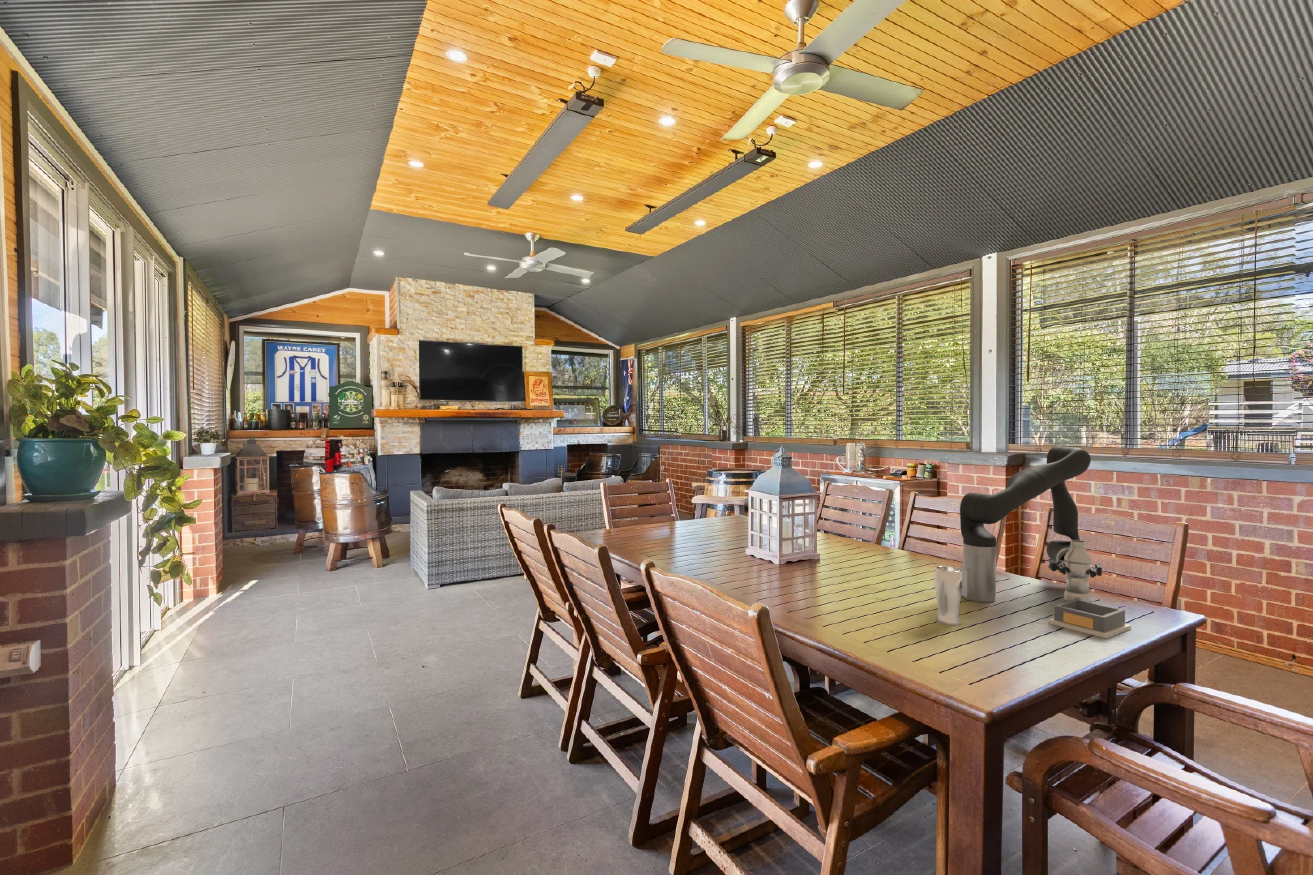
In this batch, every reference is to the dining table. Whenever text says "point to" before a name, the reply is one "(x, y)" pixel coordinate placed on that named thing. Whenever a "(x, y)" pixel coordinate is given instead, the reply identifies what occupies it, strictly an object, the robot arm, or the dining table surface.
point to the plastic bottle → (1077, 572)
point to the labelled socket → (1090, 618)
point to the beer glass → (948, 594)
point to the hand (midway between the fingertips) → (1078, 572)
